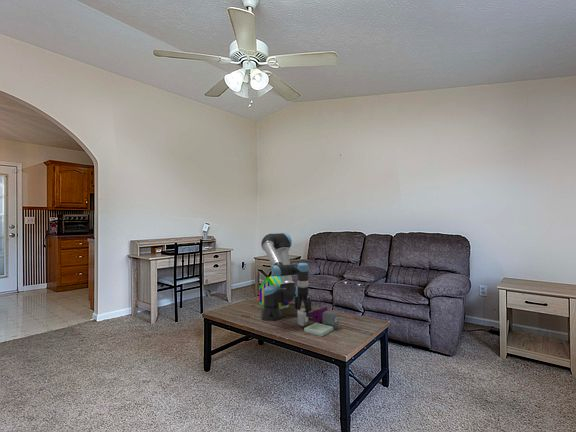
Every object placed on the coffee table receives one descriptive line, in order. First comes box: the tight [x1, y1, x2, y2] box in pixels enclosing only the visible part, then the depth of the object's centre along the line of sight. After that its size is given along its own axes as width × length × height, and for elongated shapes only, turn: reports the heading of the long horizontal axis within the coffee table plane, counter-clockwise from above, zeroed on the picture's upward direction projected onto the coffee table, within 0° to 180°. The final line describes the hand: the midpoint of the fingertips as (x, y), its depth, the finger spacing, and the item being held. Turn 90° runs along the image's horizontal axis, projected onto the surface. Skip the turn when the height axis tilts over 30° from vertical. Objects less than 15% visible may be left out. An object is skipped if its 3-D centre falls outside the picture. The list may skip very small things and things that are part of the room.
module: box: [296, 307, 309, 327], centre depth 222 cm, size 5×5×10 cm
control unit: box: [322, 310, 339, 331], centre depth 222 cm, size 10×6×10 cm, turn 50°
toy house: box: [258, 275, 291, 310], centre depth 278 cm, size 24×14×25 cm, turn 42°
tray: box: [303, 322, 334, 338], centre depth 215 cm, size 14×14×2 cm
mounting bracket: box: [308, 306, 329, 324], centre depth 240 cm, size 10×8×18 cm
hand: (302, 320), depth 222 cm, fingers closed on module, 5 cm apart
